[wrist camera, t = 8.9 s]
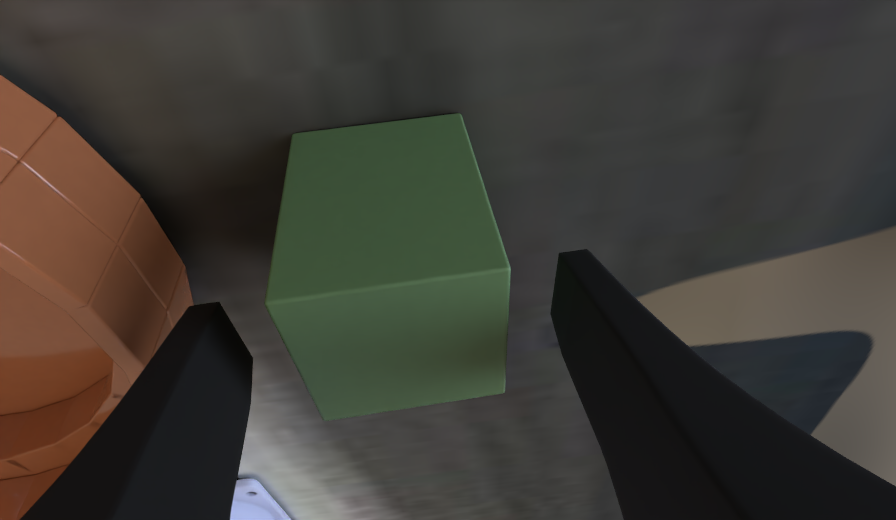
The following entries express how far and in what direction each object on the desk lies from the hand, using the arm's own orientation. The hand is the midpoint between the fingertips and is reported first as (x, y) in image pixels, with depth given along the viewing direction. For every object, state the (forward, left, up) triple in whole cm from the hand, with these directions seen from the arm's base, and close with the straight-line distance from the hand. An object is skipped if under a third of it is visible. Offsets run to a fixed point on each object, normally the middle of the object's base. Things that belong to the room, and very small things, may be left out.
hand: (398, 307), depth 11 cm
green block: (0, 0, -4) cm, 4 cm away
